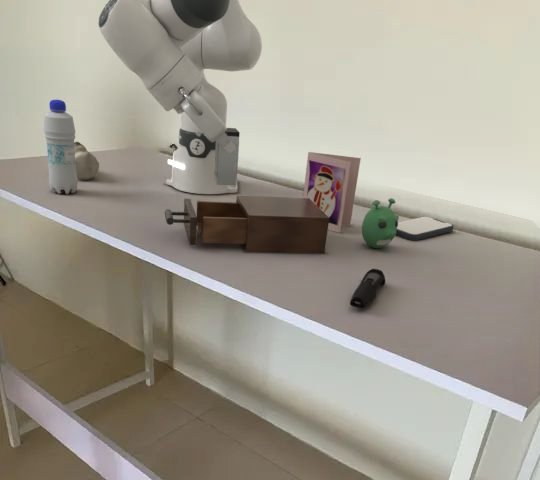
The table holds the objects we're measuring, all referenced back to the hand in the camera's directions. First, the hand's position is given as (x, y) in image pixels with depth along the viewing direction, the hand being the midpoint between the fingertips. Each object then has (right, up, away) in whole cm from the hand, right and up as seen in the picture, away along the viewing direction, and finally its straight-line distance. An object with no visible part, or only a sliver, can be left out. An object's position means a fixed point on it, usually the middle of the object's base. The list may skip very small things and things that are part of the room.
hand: (230, 147), depth 111 cm
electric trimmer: (+24, -29, -11) cm, 39 cm away
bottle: (-41, 0, +29) cm, 50 cm away
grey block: (-1, -6, +3) cm, 6 cm away
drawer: (-4, -15, +8) cm, 17 cm away
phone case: (+42, -10, +27) cm, 51 cm away
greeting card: (+20, -9, +25) cm, 34 cm away
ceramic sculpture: (-42, +8, +45) cm, 62 cm away
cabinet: (+9, -15, +11) cm, 21 cm away
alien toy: (+29, -16, +13) cm, 36 cm away
